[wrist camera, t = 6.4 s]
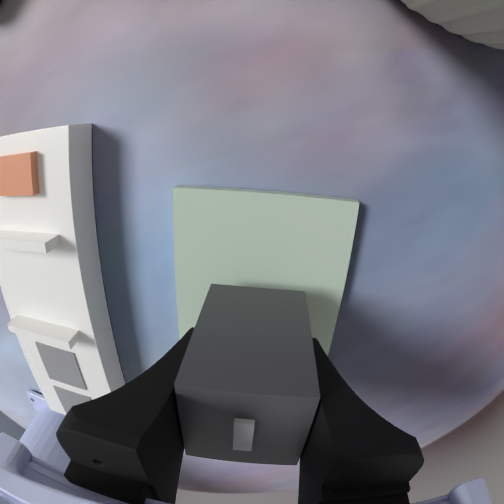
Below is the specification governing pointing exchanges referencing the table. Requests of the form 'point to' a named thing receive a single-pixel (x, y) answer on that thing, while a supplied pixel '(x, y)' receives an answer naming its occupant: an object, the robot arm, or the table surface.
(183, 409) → the block
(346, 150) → the table surface
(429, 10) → the canister
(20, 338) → the power strip
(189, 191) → the mat
